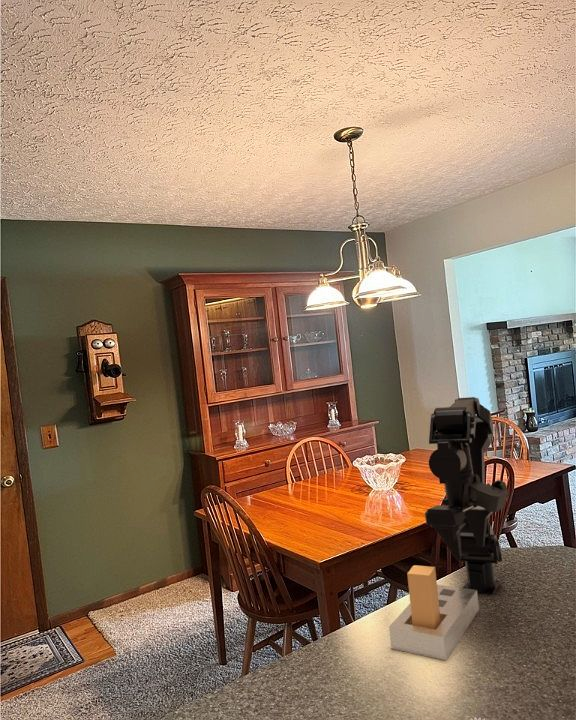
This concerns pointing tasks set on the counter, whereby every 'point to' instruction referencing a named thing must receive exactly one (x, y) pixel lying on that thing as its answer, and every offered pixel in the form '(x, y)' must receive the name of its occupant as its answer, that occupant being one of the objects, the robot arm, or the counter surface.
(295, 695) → the counter surface
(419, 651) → the white peg board
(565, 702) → the counter surface
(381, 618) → the counter surface
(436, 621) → the orange post
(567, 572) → the counter surface
